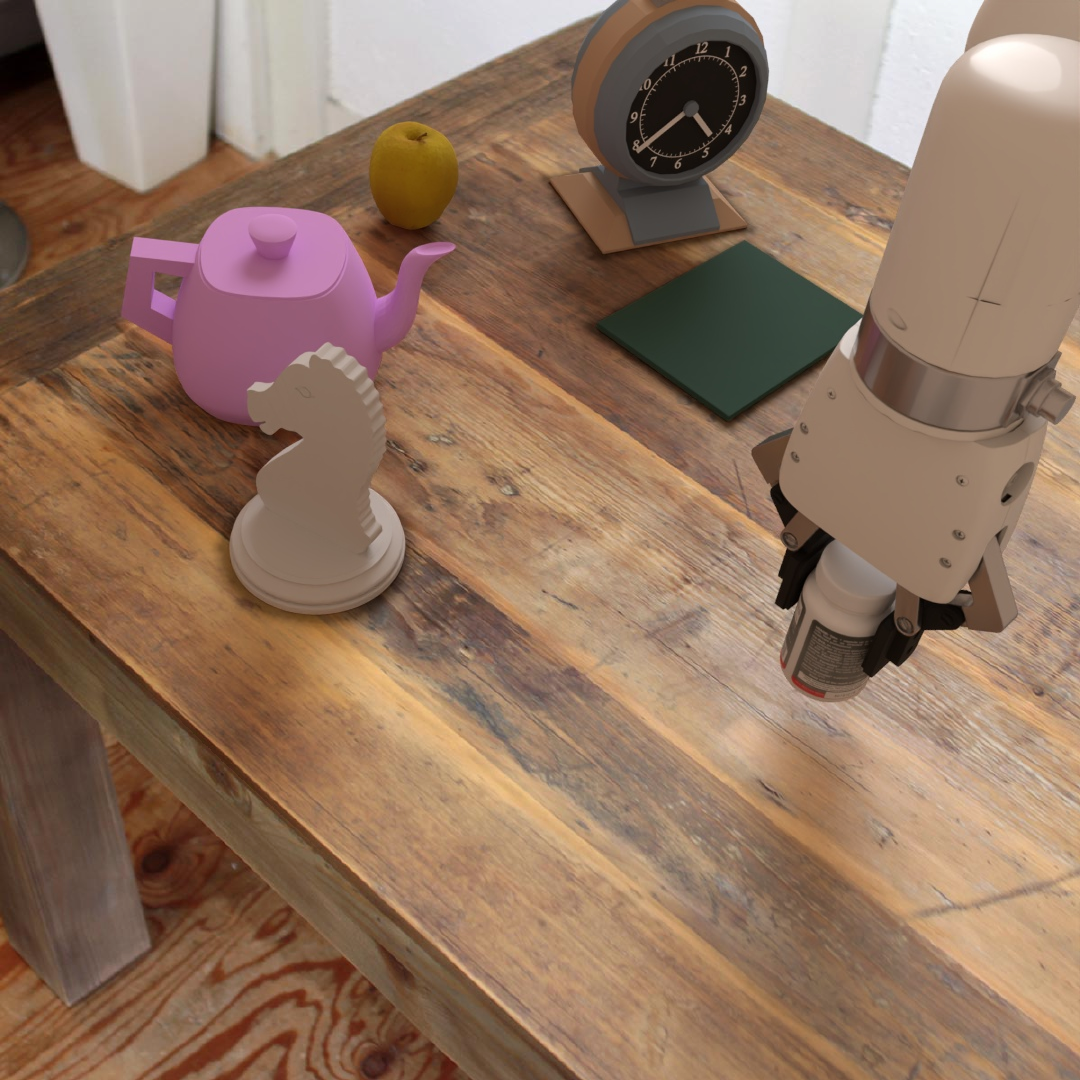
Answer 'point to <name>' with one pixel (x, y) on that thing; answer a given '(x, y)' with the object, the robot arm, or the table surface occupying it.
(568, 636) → the table surface
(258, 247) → the teapot
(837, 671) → the pill bottle
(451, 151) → the apple
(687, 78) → the alarm clock
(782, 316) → the mat
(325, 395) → the chess piece
